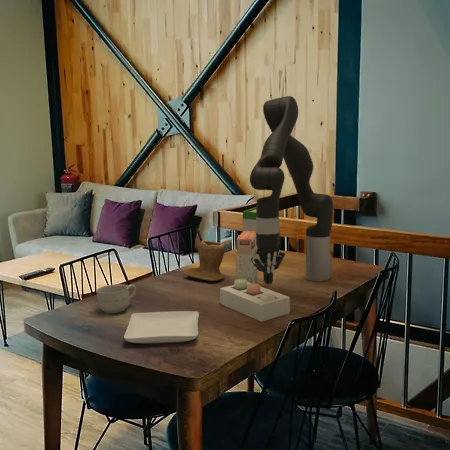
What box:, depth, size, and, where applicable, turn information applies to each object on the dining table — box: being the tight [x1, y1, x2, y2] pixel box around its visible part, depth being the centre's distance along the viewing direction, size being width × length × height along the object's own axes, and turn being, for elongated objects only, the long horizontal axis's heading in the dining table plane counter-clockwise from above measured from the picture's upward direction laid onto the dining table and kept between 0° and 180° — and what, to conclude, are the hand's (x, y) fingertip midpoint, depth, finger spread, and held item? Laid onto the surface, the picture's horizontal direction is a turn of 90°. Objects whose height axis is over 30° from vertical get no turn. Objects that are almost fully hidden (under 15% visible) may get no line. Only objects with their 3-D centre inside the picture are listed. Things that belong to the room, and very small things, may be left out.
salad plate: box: [123, 310, 200, 344], centre depth 172 cm, size 21×21×3 cm
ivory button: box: [261, 294, 274, 301], centre depth 186 cm, size 4×4×3 cm
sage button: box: [233, 278, 247, 290], centre depth 196 cm, size 4×4×3 cm
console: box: [219, 282, 291, 323], centre depth 191 cm, size 12×22×6 cm, turn 36°
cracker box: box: [236, 230, 258, 284], centre depth 210 cm, size 14×6×21 cm, turn 168°
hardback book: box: [242, 206, 261, 271], centre depth 245 cm, size 18×7×24 cm, turn 150°
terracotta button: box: [247, 283, 262, 295], centre depth 191 cm, size 4×4×3 cm
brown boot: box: [183, 240, 226, 282], centre depth 226 cm, size 15×12×15 cm
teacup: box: [95, 283, 137, 314], centre depth 192 cm, size 14×11×8 cm
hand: (268, 283), depth 184 cm, fingers closed
